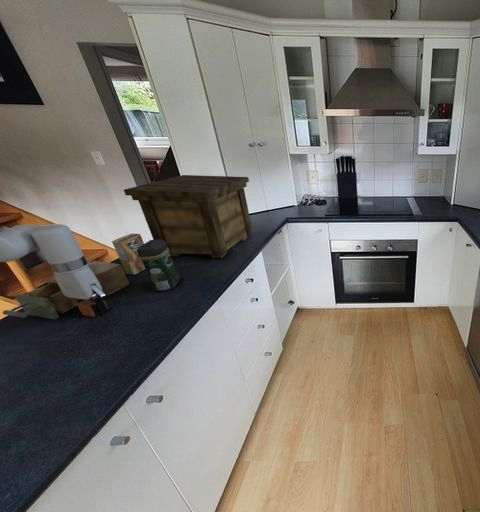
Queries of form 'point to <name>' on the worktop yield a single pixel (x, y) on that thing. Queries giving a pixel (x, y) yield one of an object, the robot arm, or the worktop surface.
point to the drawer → (43, 302)
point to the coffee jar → (158, 265)
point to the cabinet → (106, 276)
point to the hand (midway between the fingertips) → (95, 310)
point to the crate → (196, 212)
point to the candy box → (129, 253)
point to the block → (87, 307)
